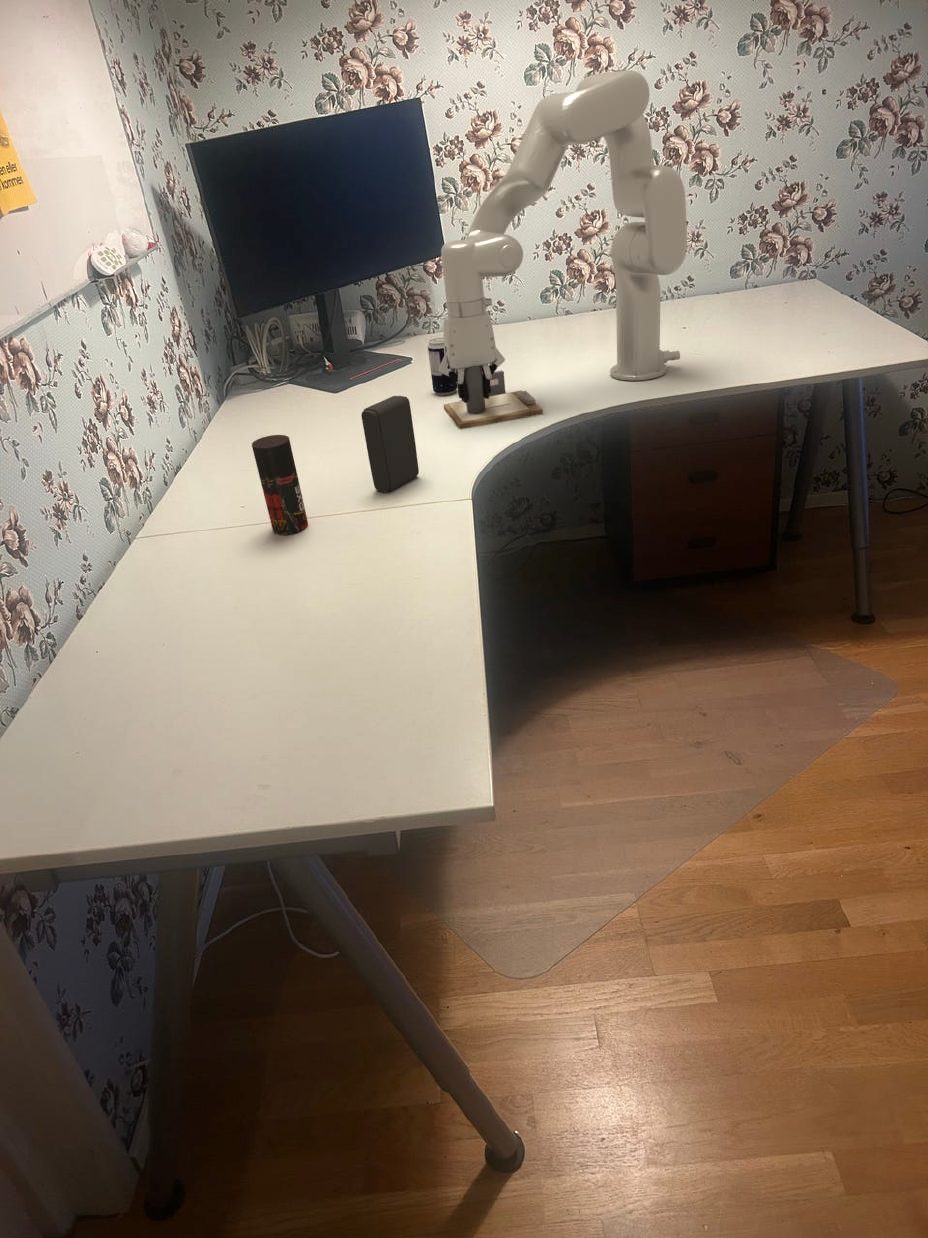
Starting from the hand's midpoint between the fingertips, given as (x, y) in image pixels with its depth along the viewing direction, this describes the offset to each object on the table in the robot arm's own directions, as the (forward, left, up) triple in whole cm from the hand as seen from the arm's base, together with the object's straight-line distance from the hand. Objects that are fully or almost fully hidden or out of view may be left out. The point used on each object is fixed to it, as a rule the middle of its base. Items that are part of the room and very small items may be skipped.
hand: (475, 398), depth 178 cm
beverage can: (+2, -21, -4) cm, 22 cm away
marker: (0, 0, -3) cm, 3 cm away
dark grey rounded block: (+22, +28, -4) cm, 36 cm away
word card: (-5, -13, -4) cm, 14 cm away
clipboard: (-4, -2, -4) cm, 6 cm away
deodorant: (+42, +38, -4) cm, 57 cm away
